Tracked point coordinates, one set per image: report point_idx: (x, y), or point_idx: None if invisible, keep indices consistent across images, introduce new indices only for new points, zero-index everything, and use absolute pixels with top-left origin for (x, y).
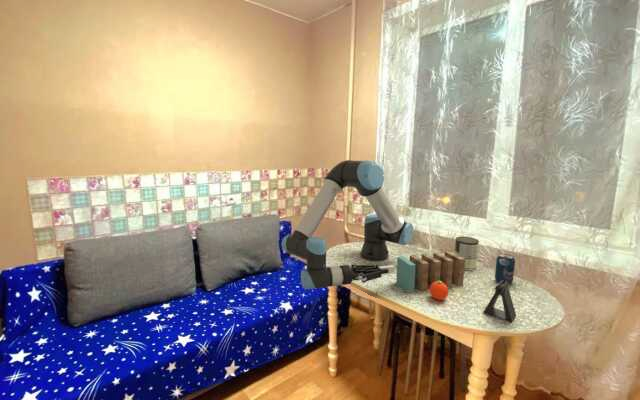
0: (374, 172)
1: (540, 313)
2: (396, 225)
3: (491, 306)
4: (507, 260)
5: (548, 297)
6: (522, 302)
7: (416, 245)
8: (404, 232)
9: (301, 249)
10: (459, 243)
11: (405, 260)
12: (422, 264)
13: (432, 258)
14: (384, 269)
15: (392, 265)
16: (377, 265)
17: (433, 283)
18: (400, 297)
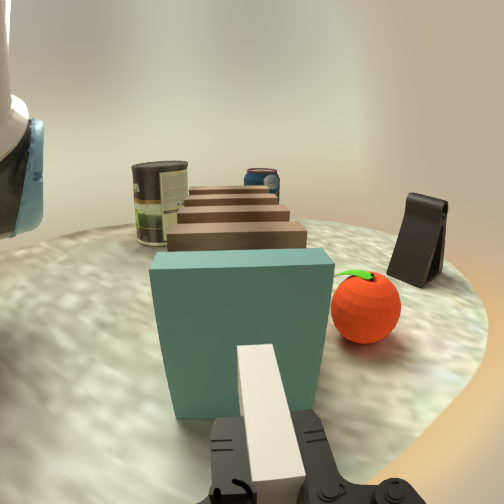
0: None
1: (390, 241)
2: (5, 119)
3: (431, 261)
4: (276, 176)
5: (329, 221)
6: (353, 240)
7: (5, 251)
8: (40, 152)
9: None
10: (158, 173)
11: (238, 259)
12: (300, 237)
13: (242, 208)
14: (303, 441)
15: (242, 350)
16: (234, 486)
17: (368, 292)
18: (363, 457)
